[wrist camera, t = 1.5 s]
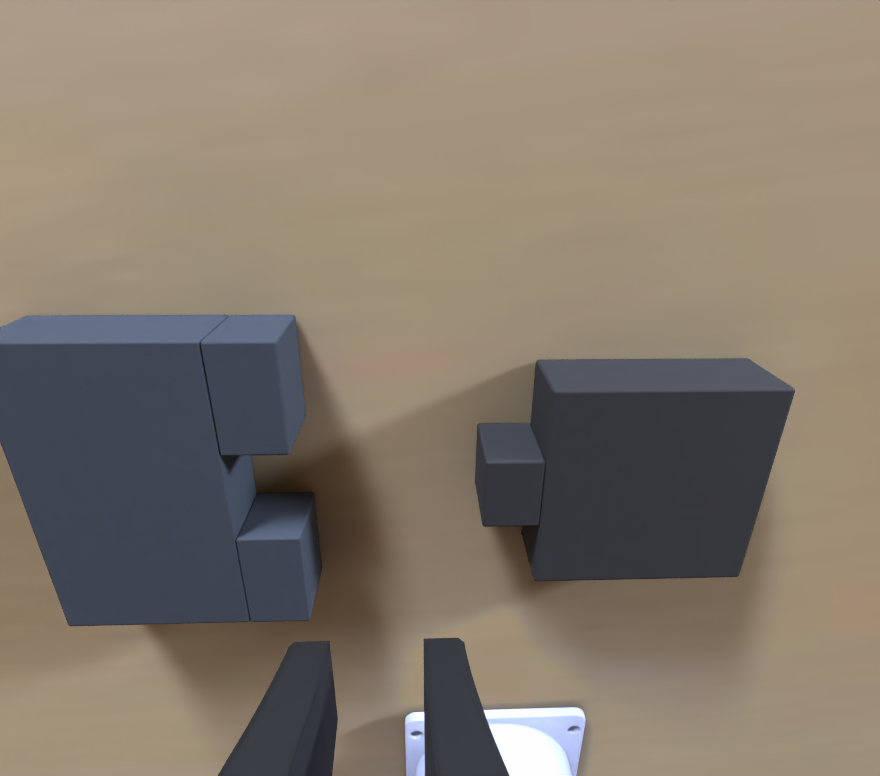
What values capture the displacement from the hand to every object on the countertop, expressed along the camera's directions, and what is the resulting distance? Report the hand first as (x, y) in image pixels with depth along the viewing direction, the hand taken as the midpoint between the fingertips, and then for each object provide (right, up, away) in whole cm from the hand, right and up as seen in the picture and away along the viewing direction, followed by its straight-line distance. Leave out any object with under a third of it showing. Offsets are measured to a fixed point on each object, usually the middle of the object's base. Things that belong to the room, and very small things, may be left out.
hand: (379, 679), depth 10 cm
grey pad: (-7, +3, +9) cm, 12 cm away
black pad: (+8, +3, +9) cm, 12 cm away
